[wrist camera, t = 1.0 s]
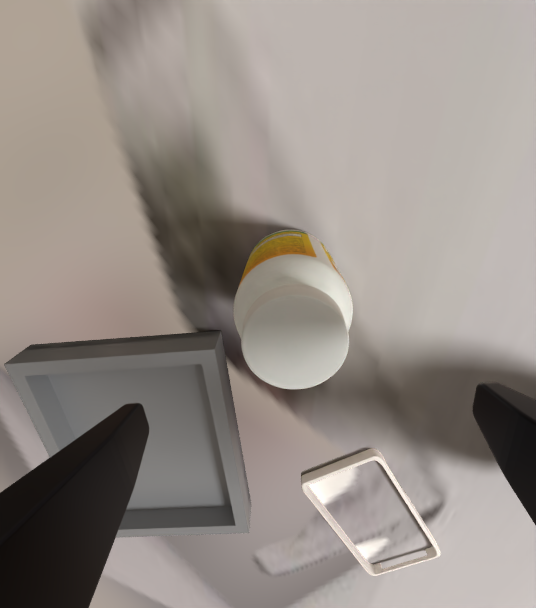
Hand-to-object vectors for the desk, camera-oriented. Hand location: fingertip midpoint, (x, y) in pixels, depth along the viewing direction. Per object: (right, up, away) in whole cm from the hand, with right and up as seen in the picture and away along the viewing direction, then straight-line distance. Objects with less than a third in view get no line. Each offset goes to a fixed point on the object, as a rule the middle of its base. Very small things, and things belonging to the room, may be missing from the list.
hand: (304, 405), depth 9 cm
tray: (-10, -8, +18) cm, 22 cm away
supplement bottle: (0, +5, +12) cm, 13 cm away
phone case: (+9, -16, +22) cm, 28 cm away
